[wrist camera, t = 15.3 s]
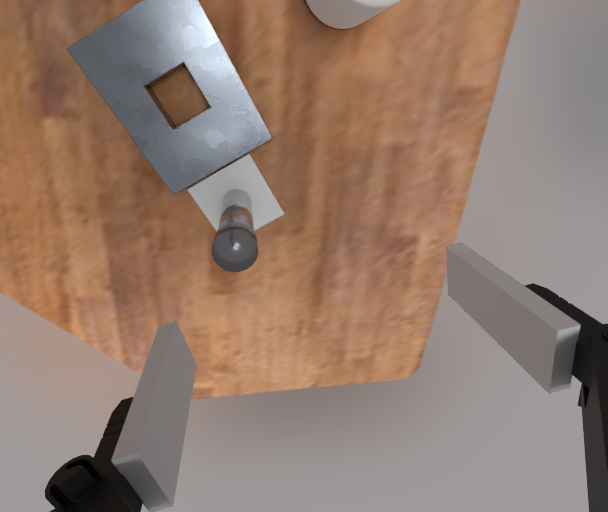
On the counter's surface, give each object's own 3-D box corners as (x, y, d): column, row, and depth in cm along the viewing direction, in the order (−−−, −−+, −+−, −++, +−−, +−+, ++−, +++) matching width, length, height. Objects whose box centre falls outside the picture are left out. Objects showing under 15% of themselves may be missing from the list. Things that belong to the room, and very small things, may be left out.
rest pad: (187, 188, 40) (186, 189, 39) (249, 153, 39) (249, 153, 39) (226, 244, 43) (226, 246, 43) (284, 213, 43) (284, 214, 42)
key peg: (222, 217, 41) (213, 272, 29) (220, 187, 40) (210, 231, 27) (253, 217, 42) (258, 270, 29) (252, 186, 40) (257, 230, 28)
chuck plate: (78, 51, 33) (66, 48, 31) (188, -18, 32) (184, -26, 30) (177, 189, 39) (173, 194, 37) (270, 135, 39) (272, 137, 36)
